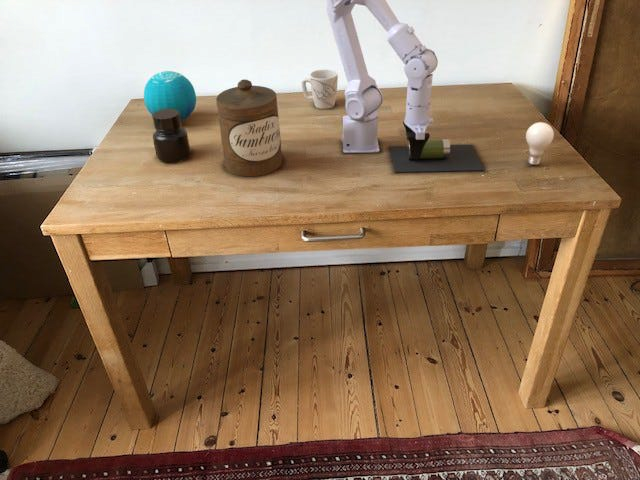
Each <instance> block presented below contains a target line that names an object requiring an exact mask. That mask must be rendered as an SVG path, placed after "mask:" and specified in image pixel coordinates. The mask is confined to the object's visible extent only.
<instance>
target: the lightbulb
mask: <svg viewBox="0 0 640 480" xmlns="http://www.w3.org/2000/svg"><path fill="white" fill-rule="evenodd" d="M554 137H555V132H554V128H553V127H552V126H551V125H550V124H548V123H546V122H543V121H538V122H534V123H533V124H531V125H530V126H529V127H528V128H527V130H526V133H525V140H526V143H527V145H528V151H529V155H528V160H527V162H528V164H530V165H532V166H535V165H540V163H541V157H542V155H543V154H544V151H545V149H547V148H548V147H549V146H550V145H551V144H552V142H553V140H554Z"/></svg>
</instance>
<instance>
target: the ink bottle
mask: <svg viewBox="0 0 640 480" xmlns="http://www.w3.org/2000/svg"><path fill="white" fill-rule="evenodd" d="M151 118H152V122H153V126H154V130H155V131H154V132H153V133H152V141H153V147H154V151H155V154H156V158H157V159H158V160H159V161H160V162H163V163H166V164H167V163H168V164H171V163H172V164H173V163H178V162H182V161H184V160H187V158H189V157H190V156H191V154H192V153H191V145H190V140H189V135H188V131H187V130H186V128H184V127H183V126H182V122H181V119H180V114H179V111H178V110H175V109H163V110H159V111H156V112H155V113H153V115H152V114H151Z"/></svg>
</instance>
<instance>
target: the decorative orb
mask: <svg viewBox="0 0 640 480" xmlns="http://www.w3.org/2000/svg"><path fill="white" fill-rule="evenodd" d="M143 101H144V105H145V107H146V109H147V111H148V112H149V114H150V115H151V116H152V115H153V113H155V112H156V111H159V110H163V109H175V110H178V111H179V114H180V119H181V123H182V122H184V121H185V120H187V119H188V118H190V116H191V115H192V114H193V112H194V110H195V108H196V105H197V95H196V91H195V88H194V85H193V83H192V82H191V81H190V80H189V78H187V77H186V76H184V75H183V74H181V73H179V72H177V71H172V70H163V71H160V72H157V73H155V74H153V75H152V76H151V77H150V79H148V80H147V82H146V84H145V86H144V90H143Z"/></svg>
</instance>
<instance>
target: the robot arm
mask: <svg viewBox="0 0 640 480" xmlns="http://www.w3.org/2000/svg"><path fill="white" fill-rule="evenodd" d="M326 2H327V3H326V12H327V17H328V20H329V23H330V27H331V30H332V33H333V37H334V41H335V43H336V47H337V50H338V53H339V58H340V61H341V63H342V67H343V71H344V74H345V77H346V80H347V81H346V82H347V83H346V87H345V91H344V97H345V105H344V106H345V107H344V108H345V112H346V113H347V114H346V115H343V116H342V135H341V143H342V150H343V153H344V154H364V153H365V154H368V153H369V154H371V153H380V145H379V141H378V140H379V139H378V124H379V108H380V107H381V106H382V104H383V103H384V95H383V92H382V90H381V89H380V88H379V86H378V85H377V81H376V80H375V79H374V78H373V77H371V76H370V75H369V73H368V72H369V71H368V69H367V64H366V61H365V58H364V54H363V50H362V47H361V43H360V39H359V36H358V33H357V32H358V31H357V29H356V25H355V21H354V19H353V15H352V11H353V9H354V8H355V5H357V6H365V8H367V10H368V11H369V12H370V14H372V16H373V17H374V18H375V20H377V21H378V23H379V24H380V25H381V26H382V28H383V29H384V30H385V31H386V32H387V38H386V40H387V43H388V44H389V45H390V47H391V48H392V50H394V52H395V54H396V55H397V56H398V57H399V59H400V60H401V61H402V63H403V64H404V66H403V72H404V74H405V76H406V78H407V86H406V87H407V88H406V100H405V101H406V102H405V116H404V119H403V121H402V125H403V127H404V128H405V136H406V139H407V140H406V141H407V142H408V140H409V144H410V154H411V158H412V159H420V157H421V154H422V151H423V148H424V145H425V144H426V142H427V141H428V140H430V138H431V135H430V132H426V130H427V128H428V126H429V125H430V124H434V118H433V117H430V110H431V108H430V107H431V98H432V89H433V77H434V76H433V75H434V74H433V73H434V72H435V70H436V69H437V67H438V64H439V62H438V56H437V55H436V52H435V51H434V50H432V49H431V48H427V46H425V45H424V44H423V43H422V42H421V40H420V39H419V38H418V36H417V35H416V33H415V32H416V30H415V29H414V27H413V26H410V25H409V24H408V23H403V22H401V21H399V19H398V18H397V16H396V14H395V12H394V11H393V10H392V8H391V7H390V4H388V3H389V2H388V1H387V0H327V1H326Z"/></svg>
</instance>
